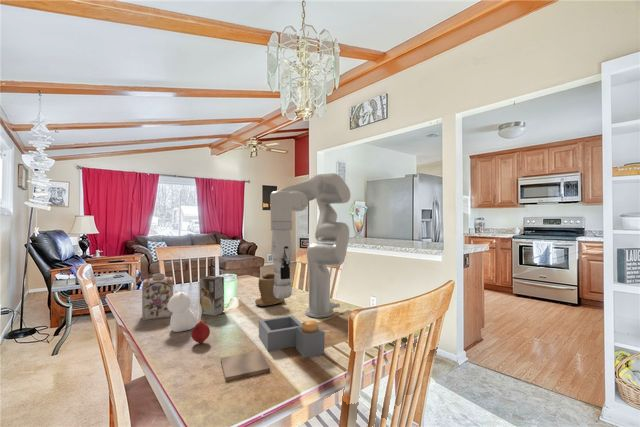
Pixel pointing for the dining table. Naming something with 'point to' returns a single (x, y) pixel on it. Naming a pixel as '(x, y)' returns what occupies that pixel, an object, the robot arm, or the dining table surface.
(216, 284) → the coffee box
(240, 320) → the dining table surface
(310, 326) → the orange egg-shaped ball
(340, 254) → the robot arm
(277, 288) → the plastic bottle
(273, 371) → the dining table surface
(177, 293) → the cat figurine
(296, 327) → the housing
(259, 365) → the pad
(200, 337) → the onion
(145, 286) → the decorative jar
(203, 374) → the dining table surface
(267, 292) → the stone cup
